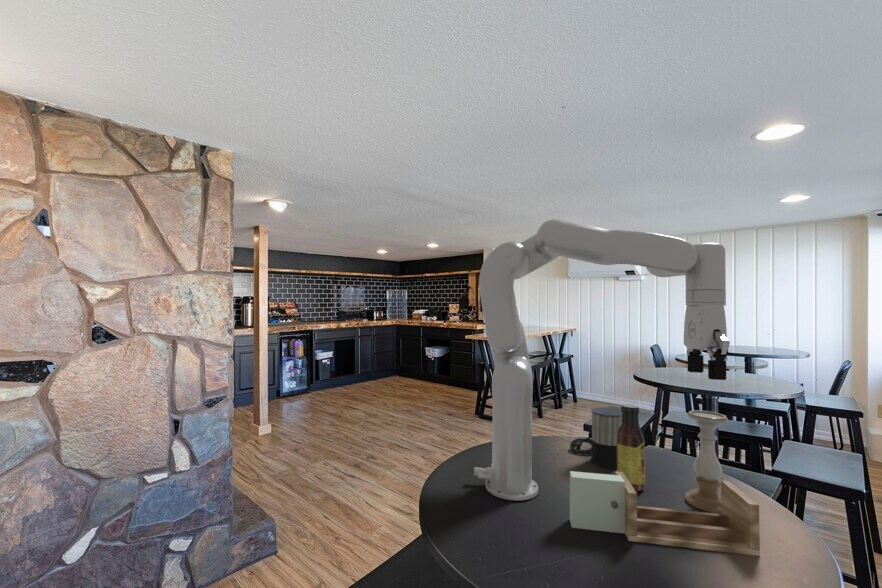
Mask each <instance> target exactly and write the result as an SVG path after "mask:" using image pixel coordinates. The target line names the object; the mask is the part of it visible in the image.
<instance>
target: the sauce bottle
mask: <svg viewBox="0 0 882 588" xmlns="http://www.w3.org/2000/svg"><path fill="white" fill-rule="evenodd" d="M620 407H621V409H620V410H621V411H622V425H621V426H620V428H619V429H618V432H617V468H616V471H617V472H623V473H624V475H625V476H626V478H627V479H628V481H629V482H630V484H631V485H632V487H633V488H634V490H635V491H636V492H641V491H643V490H644V489H645V482H646V468H645V467H646V465H645V464H646V462H645V461H646V456H645V454H646V453H645V452H646V451H645V438H644V435H643V432H642V430H641V426H640V423H639V413H640V407H639V406H638V405H635V404H628V403H627V404H626V403H625V404H621V405H620Z"/></svg>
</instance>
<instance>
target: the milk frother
mask: <svg viewBox="0 0 882 588" xmlns="http://www.w3.org/2000/svg"><path fill="white" fill-rule="evenodd" d="M590 411H591V438H589V437H579V438H575V439H574V440H572V441H571V442H570V443H569V447H570V450H571V451H573V452H574V453H576V454H580V455H590V454H591V457H590V461H591V462H592V463H593V464H594V465H596V466H599V467H602V468H606V469H617V432H618V429H619V428H620V426H621V425H622V411H621V409H618V408H612V407H605V406H604V407H602V406H599V407H598V406H597V407H592V408H591V409H590ZM581 438H586V439H581ZM583 443H588V444H589V445H590V448H588V449H581V447H582V446H583V445H582V444H583Z"/></svg>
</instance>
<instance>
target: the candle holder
mask: <svg viewBox="0 0 882 588" xmlns="http://www.w3.org/2000/svg"><path fill="white" fill-rule="evenodd" d="M687 416H688V418H690V419H692V420H696V425H698V427H699V429H700V432H699V433H698V434H697V438H699V440H700V442H699V444H700V446H699V452H698V455H697V457H696V458H695V460H694V462H693V470H694V472H695V473H696V475H697V476H696V477H695V481H696V482H697V485H698V487H697V488H693V489H691V490H689V491H688V492H686V493H685V500H686V502H687V503H688V504H689V505H690V506H693V507H694V508H696V509H698V510H701V511H703V512H706V513H715V514H721V493H720V492H718V490H719V488H721V481H719V479H720V478H721V477H722V476H723V467H722V465H721V463H720V461H719V459H718V456H717V454H716V442H717V441H718V439H719V438H718V437H717V435H716V433H715V431H716V430H717V428H719V426H720V425H719V424H726V423H728V421H729V418H728V417H727V415H724V414H722V413H719V412H715V411H710V410H701V409H700V410H695V409H694V410H689V411H688V413H687Z"/></svg>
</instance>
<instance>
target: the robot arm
mask: <svg viewBox="0 0 882 588" xmlns="http://www.w3.org/2000/svg"><path fill="white" fill-rule="evenodd" d="M559 257H562V258H566V259H567V258H569V259H573V260H576V261H577V260H578V261H582V262H586V263H591V264H594V265H601V266H603V265H604V266H611V265H613V266H614V265H631V266H633V265H634V266H638V267H645V268H646V270H647V271H648V272H649V273H650V274H651V275H653V276H654V277H657V278H671V277H678V276H680V277H681V276H685V281H684V282H685V285H684V286H685V294H684V295H685V297H684V298H685V306H686V307H685V308H686V309H685V315H684V324H683V345H684V346H685V347H686V348H687V350H686V355H687V372H688V373H700V374H701V373H702V374H703V373H704V355H702V354H703V351H705V350H706V351H707V354H708V356H709V359H708V360H707V364H708V365H707V371H708V372H707V376H708V377H707V378H708V379H709V380H715V381H726V380H727V361H728V355H729V353H730V352H729V348H730V343H731V342H730V340H729V339H728V338H727V337H728V335H727V334H728V333H727V319H726V311H725V306H727V293H726V292H727V291H726V290H727V289H726V285H727V284H726V283H727V281H726V279H727V278H726V275H727V274H726V269H727V268H726V248H725V246H724V245H723V244H721V243H717V242H705V243H704V242H702V243H696V244H692V242H689V241H687V240H685V239H683V238H680V237H676V236H675V237H674V236H669V235H665V234H660V233H654V232H646V231H639V230H638V231H637V230H636V231H635V230H623V229H610V228H603V227H599V226H598V227H597V226H593V225H588V224H584V223H578V222H572V221H567V220H562V219H548V220H547V221H545V222H543V223H542V224H541V225H540V227H539V228H538V230H537V232H536V233H535V234H534V235H532V236H531V237H529V238H527V239H525V240H524V241H522V242H516V241H505V242H503V243H501V244H499V245H498V246H496V247H495V248H494V249H493V250H491V251H490V252H489V253H488V255H487V256H486V258H485V259H484V261H483V263H482V265H481V269H480V271H479V275H478V286H479V287H478V288H479V296H480V301H481V309H482V315H483V319H484V320H483V322H484V326H485V327H484V328H485V336H486V341H487V343H488V344H489V346H490V347H491V352H492V359H493V364H494V370H493V372H492V378H491V394H492V395H491V396H492V397H491V399H492V437H491V438H492V441H491V442H492V443H491V444H492V445H491V448H492V451H491V454H492V455H491V464H490V465H491V466H487V467H486V468H485V467H484V468H483V467H477V466H474V467H473V469H474V470H473V476H477V479H478V480H485V489H486V491H487V492H489V493H490V494H491V495H492V496H495V497H497V498H499V499H503V500H507V501H514V502H515V501H517V502H518V501H519V502H520V501H526V500H530V499H533V498H535V497H536V496H537V495H538V493H539V485H538V483H537V482H536V481H535V480H534V479H532V478H533V477H532V476H533V472H532V471H533V470H532V469H533V467H532V466H533V392H534V391H533V389H534V385H533V384H534V380H533V379H534V377H533V371H532V370H533V369H532V364H531V360H530V355H529V349H528V344H527V339H526V335H525V329H524V325H523V323H522V322H521V320H520V316H519V312H518V307H517V300H516V293H515V288H514V285H515V280H519V279H522V278H524V277H526V276H527V275H529V274H531V273H533V272H535V271H536V270H538V269H540V268H541V267H543V266H546V265H547V264H549V263H551V262H553V261H554V260H555V259H558V258H559Z"/></svg>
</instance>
